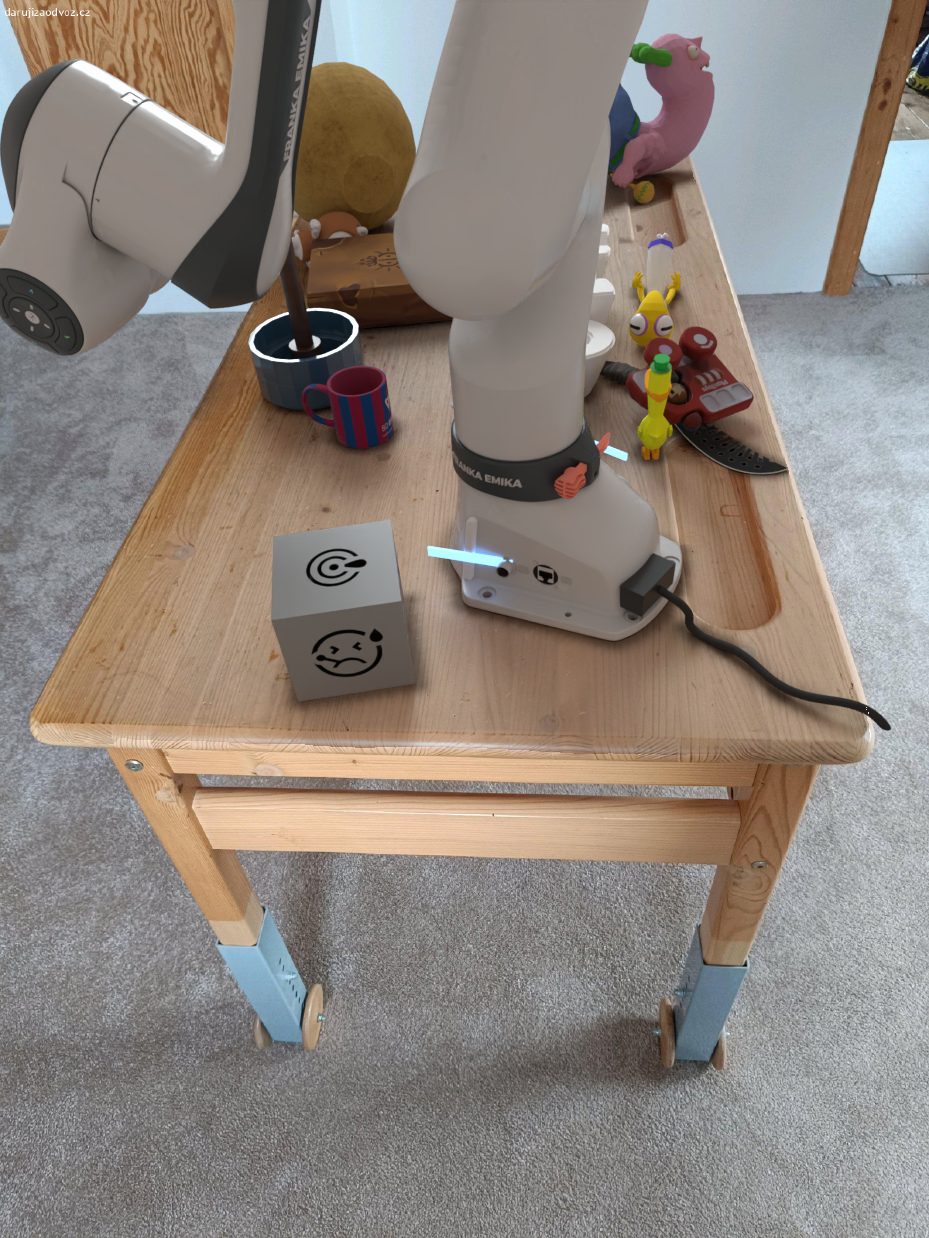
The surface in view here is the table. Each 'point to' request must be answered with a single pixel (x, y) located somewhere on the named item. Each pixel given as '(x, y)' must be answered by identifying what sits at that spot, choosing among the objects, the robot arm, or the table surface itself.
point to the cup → (356, 406)
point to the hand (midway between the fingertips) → (208, 164)
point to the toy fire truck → (693, 380)
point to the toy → (661, 113)
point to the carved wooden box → (365, 282)
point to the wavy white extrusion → (599, 318)
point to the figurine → (326, 232)
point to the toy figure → (656, 407)
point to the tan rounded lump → (352, 147)
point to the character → (654, 294)
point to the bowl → (291, 377)
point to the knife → (705, 434)
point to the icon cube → (340, 610)
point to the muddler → (298, 311)
